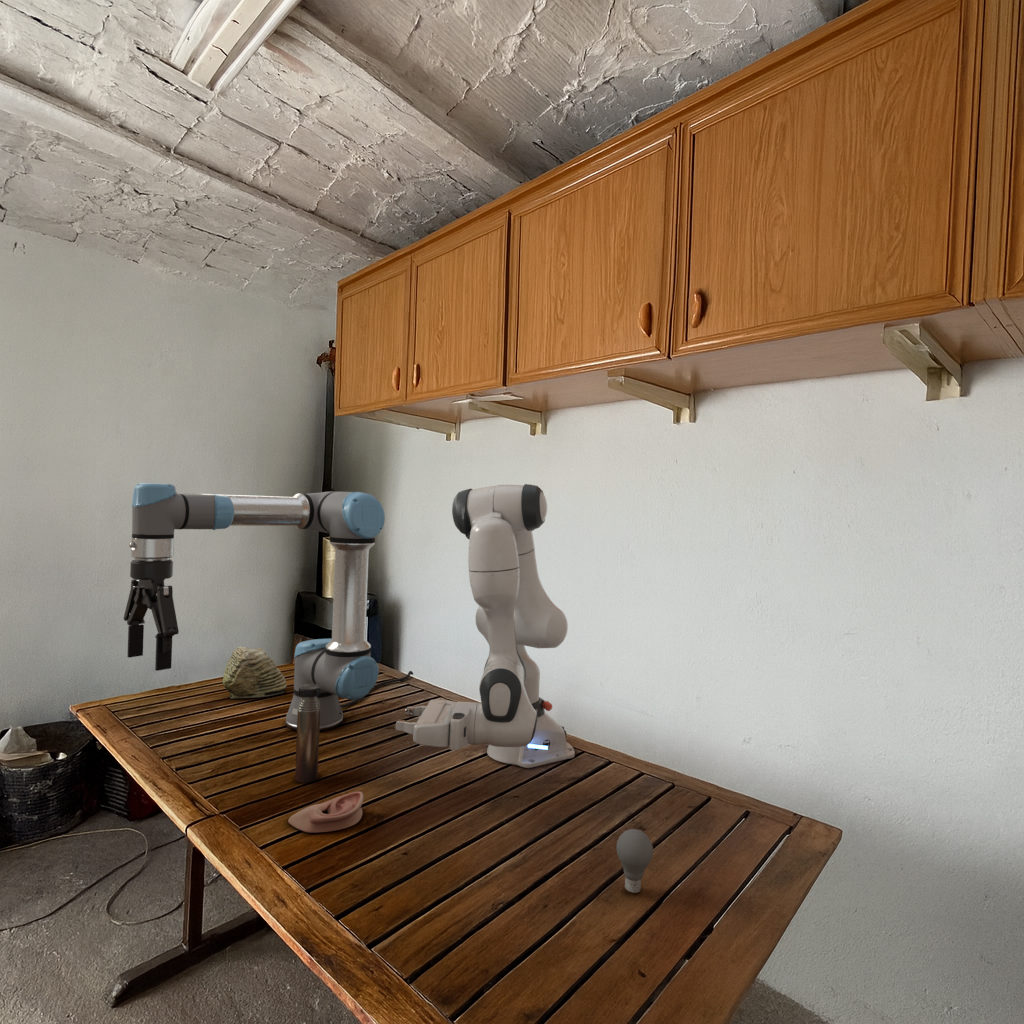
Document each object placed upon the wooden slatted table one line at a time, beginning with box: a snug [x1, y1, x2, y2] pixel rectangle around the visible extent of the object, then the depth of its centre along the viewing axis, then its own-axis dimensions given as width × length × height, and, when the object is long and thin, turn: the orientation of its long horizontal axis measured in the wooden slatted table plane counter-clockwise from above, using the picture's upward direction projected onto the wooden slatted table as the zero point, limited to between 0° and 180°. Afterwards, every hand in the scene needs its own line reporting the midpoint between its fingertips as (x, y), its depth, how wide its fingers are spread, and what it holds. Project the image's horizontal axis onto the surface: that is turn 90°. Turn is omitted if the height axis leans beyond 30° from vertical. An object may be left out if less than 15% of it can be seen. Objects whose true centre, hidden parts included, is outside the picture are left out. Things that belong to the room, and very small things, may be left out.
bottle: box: [294, 696, 321, 784], centre depth 142 cm, size 5×5×20 cm
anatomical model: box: [287, 791, 364, 834], centre depth 124 cm, size 13×4×12 cm
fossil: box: [222, 646, 288, 699], centre depth 198 cm, size 9×18×15 cm, turn 132°
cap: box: [299, 684, 321, 698], centre depth 142 cm, size 5×5×2 cm
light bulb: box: [615, 828, 654, 894], centre depth 106 cm, size 6×6×10 cm
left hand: (148, 662), depth 129 cm, fingers open, 13 cm apart
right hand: (401, 718), depth 140 cm, fingers open, 8 cm apart
